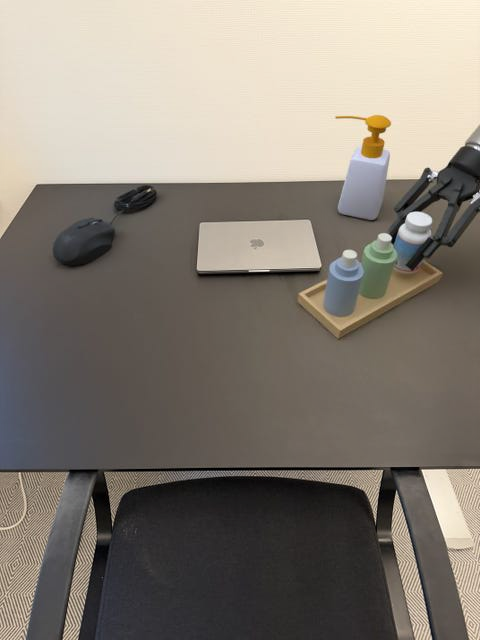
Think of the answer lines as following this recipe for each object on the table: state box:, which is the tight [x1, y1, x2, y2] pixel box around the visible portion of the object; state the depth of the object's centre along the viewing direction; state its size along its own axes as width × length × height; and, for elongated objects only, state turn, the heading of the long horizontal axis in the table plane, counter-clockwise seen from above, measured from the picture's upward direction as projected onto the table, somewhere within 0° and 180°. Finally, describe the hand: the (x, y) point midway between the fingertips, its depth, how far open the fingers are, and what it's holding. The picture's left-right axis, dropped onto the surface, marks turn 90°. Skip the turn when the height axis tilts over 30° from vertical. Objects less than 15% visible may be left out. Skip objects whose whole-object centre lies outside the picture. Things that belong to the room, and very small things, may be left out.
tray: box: [297, 259, 443, 340], centre depth 92 cm, size 28×12×2 cm, turn 124°
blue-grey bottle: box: [323, 249, 364, 317], centre depth 85 cm, size 6×6×12 cm
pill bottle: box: [393, 211, 433, 274], centre depth 91 cm, size 6×6×11 cm
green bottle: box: [359, 232, 397, 299], centre depth 88 cm, size 6×6×12 cm
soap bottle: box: [334, 114, 392, 221], centre depth 106 cm, size 10×14×22 cm
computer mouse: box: [52, 184, 158, 266], centre depth 106 cm, size 10×32×6 cm, turn 154°
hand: (395, 258), depth 91 cm, fingers closed on pill bottle, 6 cm apart
